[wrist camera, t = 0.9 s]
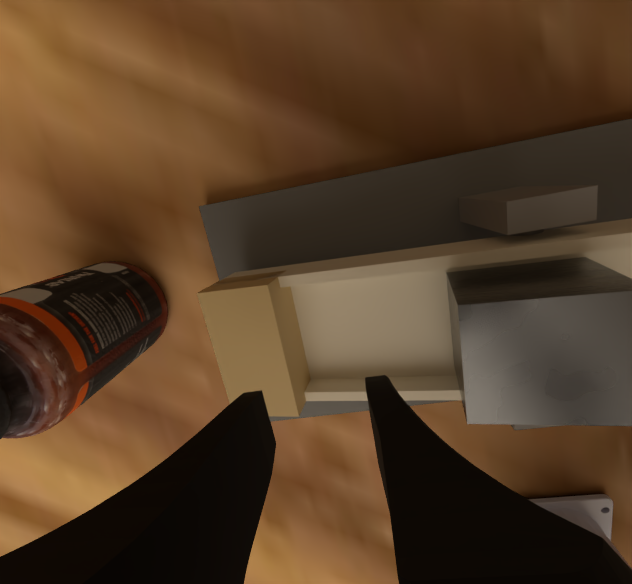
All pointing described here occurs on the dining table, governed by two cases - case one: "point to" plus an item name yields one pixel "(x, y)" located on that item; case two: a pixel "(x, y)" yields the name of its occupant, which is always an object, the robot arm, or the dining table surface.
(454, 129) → the dining table surface
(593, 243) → the beam
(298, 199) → the stand
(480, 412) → the rider
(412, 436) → the robot arm
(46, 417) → the supplement bottle
